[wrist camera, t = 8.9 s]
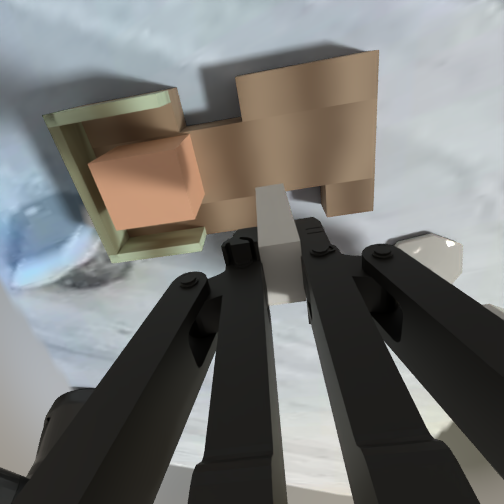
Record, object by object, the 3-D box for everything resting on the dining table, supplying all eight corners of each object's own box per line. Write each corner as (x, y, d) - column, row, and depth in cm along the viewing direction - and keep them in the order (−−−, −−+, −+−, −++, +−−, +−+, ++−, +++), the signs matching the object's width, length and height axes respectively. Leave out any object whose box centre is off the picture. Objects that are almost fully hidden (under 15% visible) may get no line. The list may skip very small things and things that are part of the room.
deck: (135, 231, 32) (112, 263, 27) (84, 105, 26) (41, 115, 21) (363, 198, 30) (385, 226, 25) (366, 51, 24) (395, 48, 19)
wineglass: (444, 299, 36) (629, 531, 18) (369, 297, 36) (479, 527, 18) (473, 232, 32) (757, 453, 14) (387, 230, 32) (558, 448, 14)
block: (138, 204, 27) (116, 230, 23) (116, 146, 25) (87, 163, 21) (204, 194, 27) (195, 219, 23) (189, 133, 24) (175, 149, 20)
